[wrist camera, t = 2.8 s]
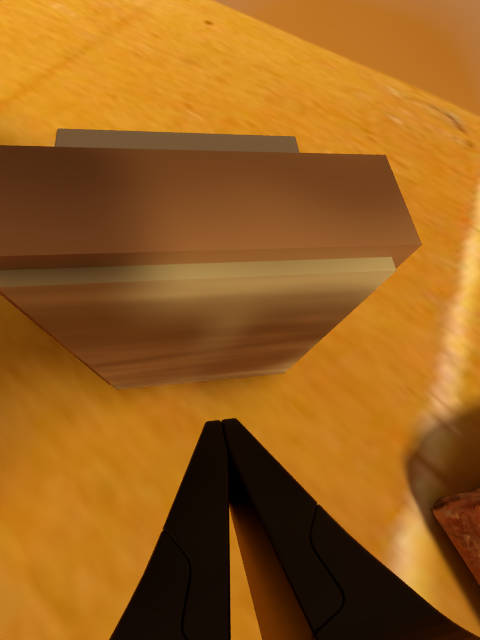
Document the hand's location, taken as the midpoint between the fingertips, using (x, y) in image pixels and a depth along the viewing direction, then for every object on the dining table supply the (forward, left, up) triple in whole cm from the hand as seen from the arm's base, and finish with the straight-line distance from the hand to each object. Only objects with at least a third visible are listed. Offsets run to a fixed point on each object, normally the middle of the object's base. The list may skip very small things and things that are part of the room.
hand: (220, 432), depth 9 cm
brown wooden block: (+4, +3, -8) cm, 10 cm away
